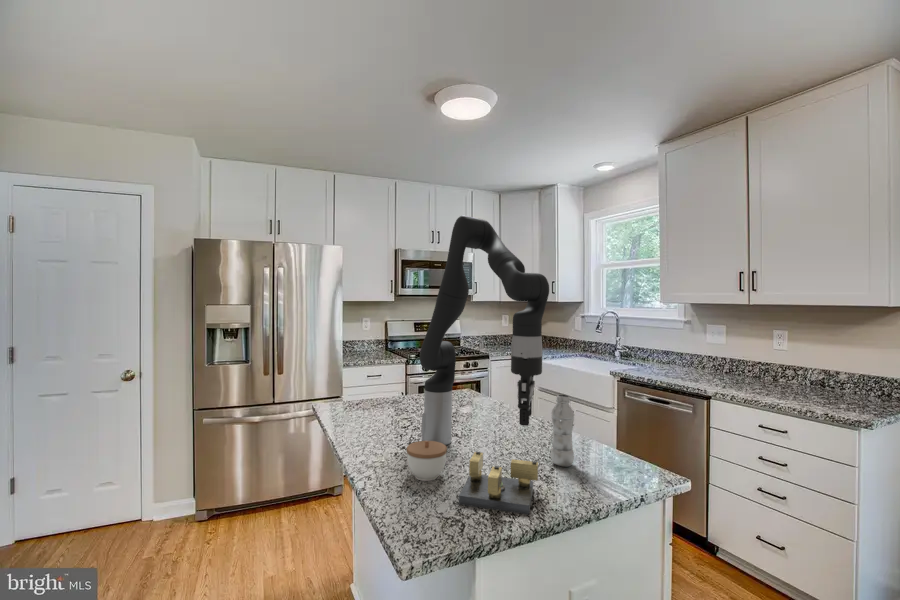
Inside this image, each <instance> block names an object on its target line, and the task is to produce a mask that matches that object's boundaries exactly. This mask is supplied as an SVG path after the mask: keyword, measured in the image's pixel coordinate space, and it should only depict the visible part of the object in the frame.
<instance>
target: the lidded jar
mask: <svg viewBox="0 0 900 600" xmlns="http://www.w3.org/2000/svg"><path fill="white" fill-rule="evenodd" d="M447 451H448V447H447V445H444V444H442V443H440V442H436V441H422V440H420V441H414V442H412V443H410V444H408V445H407V447H406V459H407V461H406V462H407V466H408V469H409V471H410V473H411V474H412V475H413V476H414V478H415V479H416V480H418V481H422V482H430V481H434V480H436V479H438V477H439V476H440V475H441V474H442V472H443V471H444V468H445V467H446V462H447Z"/></svg>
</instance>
